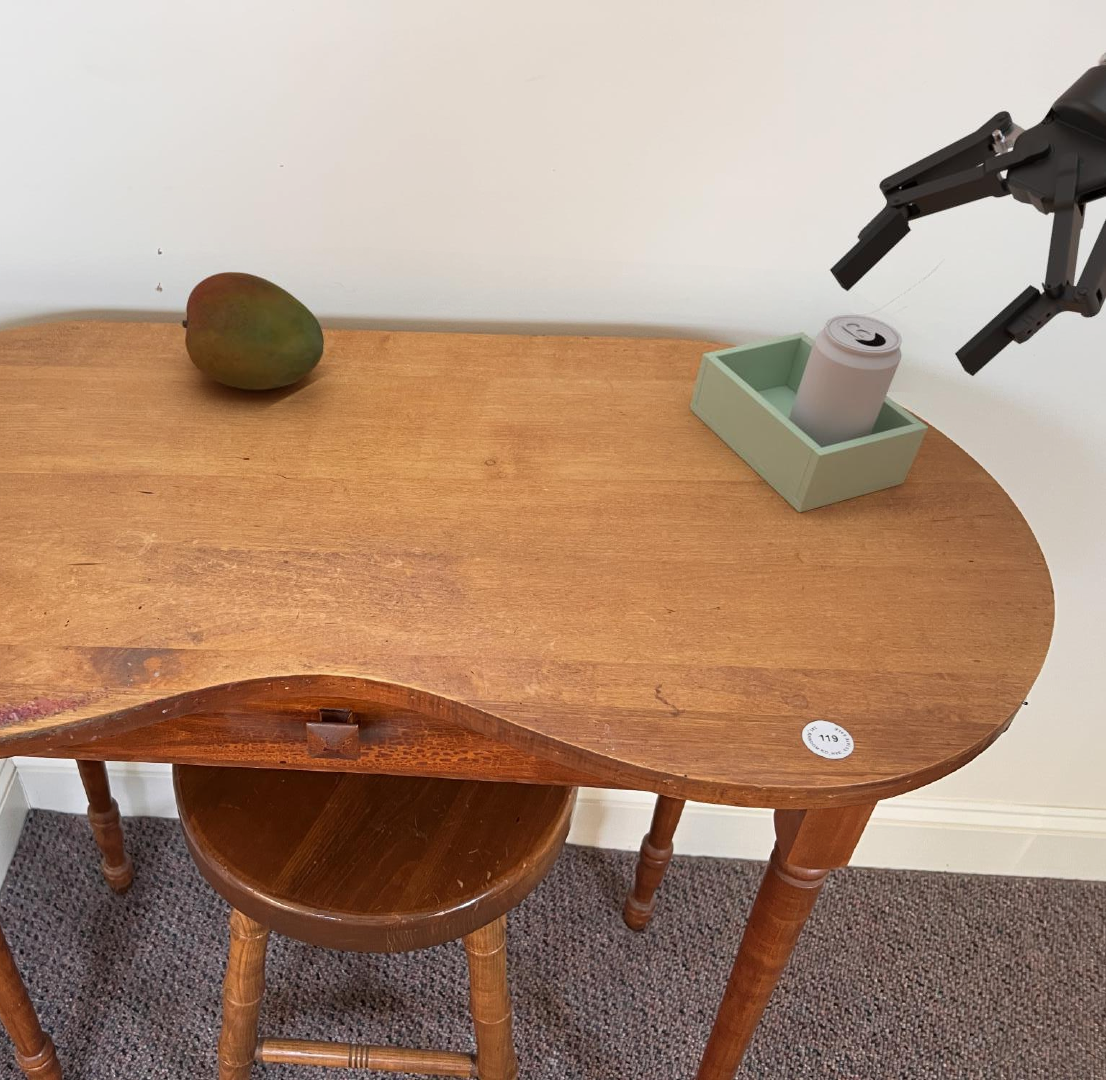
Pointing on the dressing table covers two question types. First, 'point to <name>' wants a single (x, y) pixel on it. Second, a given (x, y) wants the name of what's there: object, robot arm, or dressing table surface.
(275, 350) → the fruit
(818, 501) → the bin
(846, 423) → the beverage can
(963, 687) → the dressing table surface
